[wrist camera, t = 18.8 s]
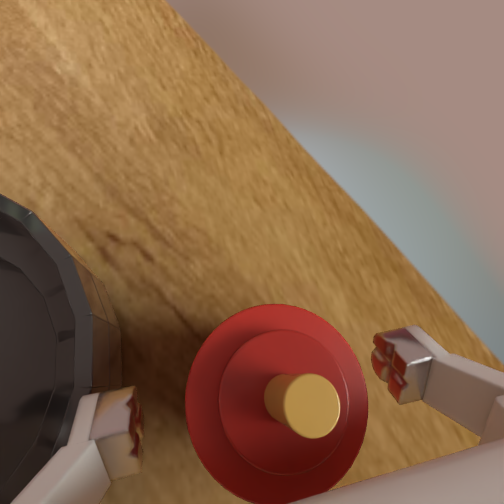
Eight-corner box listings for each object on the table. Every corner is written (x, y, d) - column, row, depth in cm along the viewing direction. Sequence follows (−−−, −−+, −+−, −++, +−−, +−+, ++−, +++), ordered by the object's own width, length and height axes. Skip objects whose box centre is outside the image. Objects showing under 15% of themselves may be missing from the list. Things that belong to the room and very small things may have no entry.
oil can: (171, 415, 15) (114, 479, 6) (228, 312, 17) (254, 234, 8) (275, 474, 15) (393, 644, 6) (321, 362, 17) (466, 346, 8)
